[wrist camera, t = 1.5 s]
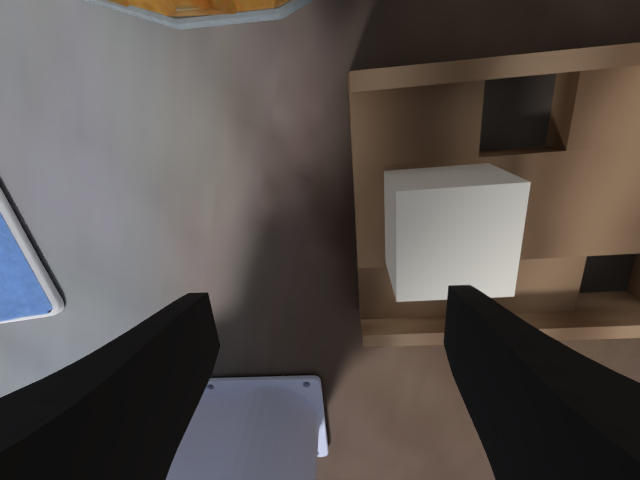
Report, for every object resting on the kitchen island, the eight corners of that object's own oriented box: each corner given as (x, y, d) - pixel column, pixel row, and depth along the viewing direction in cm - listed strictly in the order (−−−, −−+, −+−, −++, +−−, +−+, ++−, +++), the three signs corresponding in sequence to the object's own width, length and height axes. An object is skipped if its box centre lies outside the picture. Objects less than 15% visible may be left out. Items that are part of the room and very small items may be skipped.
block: (385, 262, 19) (396, 301, 15) (383, 171, 17) (395, 191, 13) (479, 256, 19) (514, 296, 15) (488, 163, 17) (530, 181, 13)
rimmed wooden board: (359, 311, 23) (362, 347, 19) (347, 75, 17) (349, 71, 14) (726, 295, 21) (797, 332, 18) (837, 27, 16) (966, 10, 12)
